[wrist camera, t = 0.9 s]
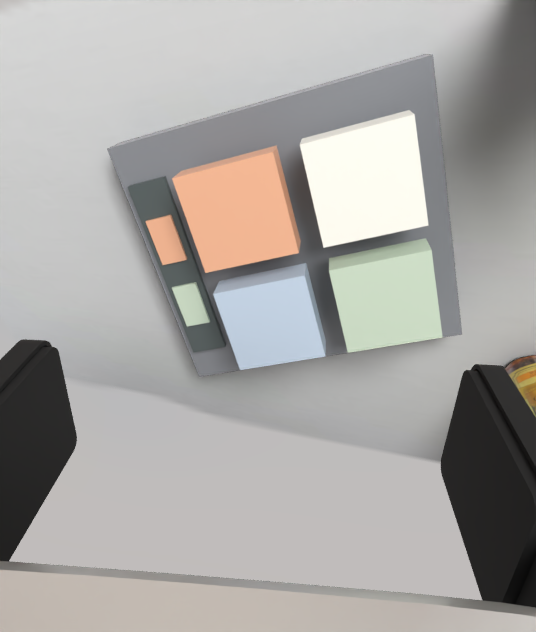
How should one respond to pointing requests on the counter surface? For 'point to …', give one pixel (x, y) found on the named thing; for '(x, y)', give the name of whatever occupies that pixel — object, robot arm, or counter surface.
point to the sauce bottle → (525, 378)
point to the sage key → (386, 295)
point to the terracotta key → (239, 210)
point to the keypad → (287, 132)
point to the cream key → (366, 179)
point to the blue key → (271, 317)
